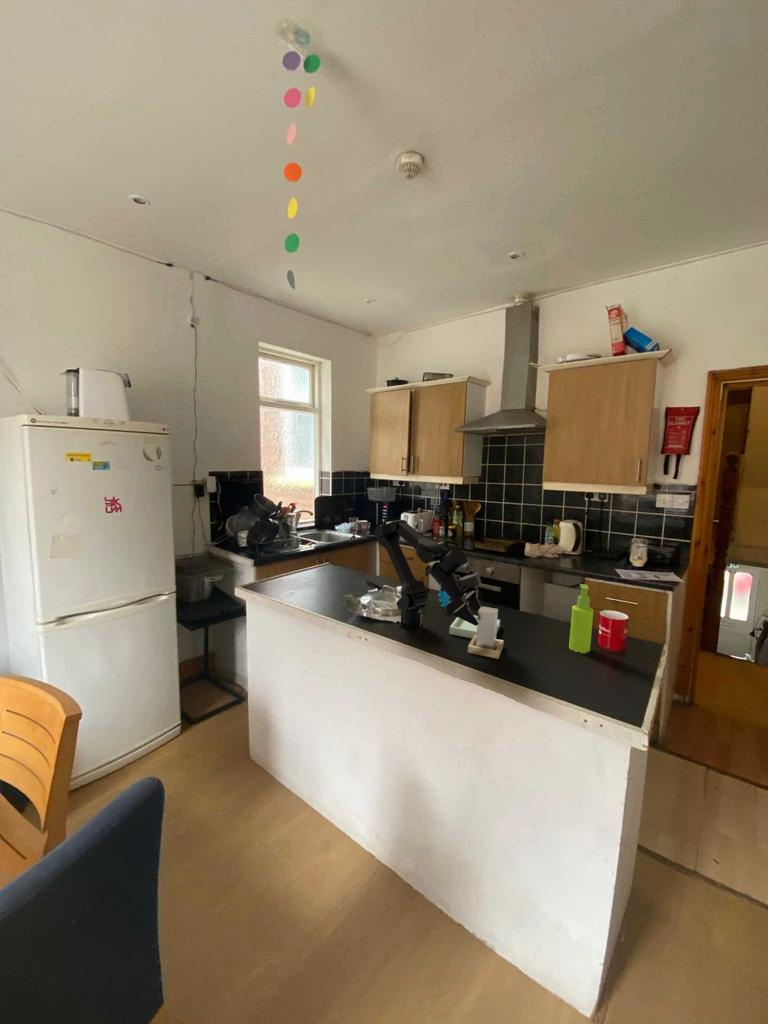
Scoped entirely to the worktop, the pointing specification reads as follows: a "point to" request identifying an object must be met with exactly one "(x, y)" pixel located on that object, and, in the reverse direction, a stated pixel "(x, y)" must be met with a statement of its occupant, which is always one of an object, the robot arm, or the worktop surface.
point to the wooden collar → (485, 649)
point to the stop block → (487, 628)
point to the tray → (466, 628)
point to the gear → (443, 598)
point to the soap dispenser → (581, 623)
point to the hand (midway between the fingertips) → (480, 619)
